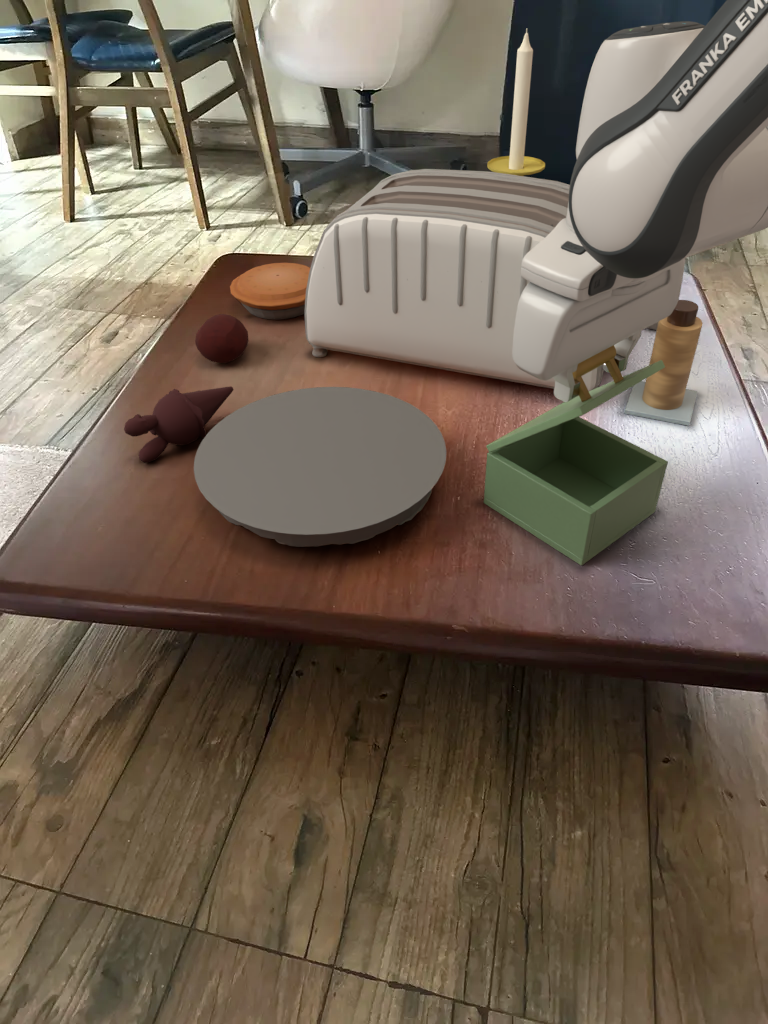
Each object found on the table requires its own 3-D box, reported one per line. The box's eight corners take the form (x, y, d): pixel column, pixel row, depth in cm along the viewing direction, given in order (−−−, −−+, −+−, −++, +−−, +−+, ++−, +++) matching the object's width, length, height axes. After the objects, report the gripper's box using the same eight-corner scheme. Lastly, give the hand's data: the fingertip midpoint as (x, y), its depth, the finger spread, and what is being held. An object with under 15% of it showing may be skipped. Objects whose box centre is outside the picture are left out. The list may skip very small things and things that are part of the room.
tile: (696, 394, 103) (697, 390, 102) (689, 426, 97) (690, 422, 97) (634, 383, 105) (635, 379, 105) (623, 413, 100) (624, 409, 99)
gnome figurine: (207, 359, 100) (105, 415, 93) (238, 365, 95) (133, 425, 88) (227, 407, 104) (131, 464, 96) (258, 415, 98) (159, 477, 91)
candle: (514, 278, 133) (537, 20, 109) (548, 300, 126) (580, 29, 102) (463, 290, 129) (475, 26, 105) (495, 313, 122) (515, 37, 98)
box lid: (665, 367, 75) (644, 322, 75) (583, 415, 69) (559, 366, 69) (566, 408, 88) (547, 370, 88) (488, 452, 82) (468, 411, 81)
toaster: (618, 417, 99) (653, 242, 84) (301, 360, 112) (284, 201, 98) (641, 342, 114) (674, 183, 100) (359, 299, 127) (353, 154, 113)
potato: (189, 368, 111) (181, 329, 108) (216, 339, 118) (209, 302, 114) (237, 374, 110) (231, 335, 106) (262, 344, 116) (257, 306, 113)
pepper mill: (684, 393, 102) (708, 299, 93) (679, 413, 98) (704, 317, 90) (645, 386, 103) (665, 293, 95) (639, 405, 100) (659, 310, 92)
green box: (655, 512, 84) (668, 461, 80) (581, 566, 78) (591, 514, 74) (557, 457, 93) (564, 409, 88) (483, 503, 86) (486, 452, 82)
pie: (251, 282, 134) (247, 254, 131) (338, 287, 131) (336, 258, 128) (219, 322, 122) (213, 292, 119) (314, 329, 120) (311, 298, 117)
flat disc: (457, 425, 98) (458, 394, 96) (429, 580, 77) (429, 547, 74) (244, 409, 102) (239, 379, 100) (162, 553, 81) (153, 520, 79)
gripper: (655, 204, 73) (627, 338, 82) (507, 264, 63) (494, 408, 72) (716, 222, 70) (679, 360, 79) (568, 289, 60) (546, 437, 69)
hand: (589, 384), depth 75 cm, fingers closed on box lid, 6 cm apart
